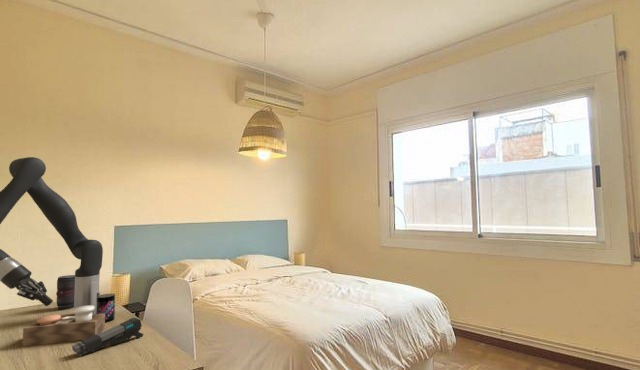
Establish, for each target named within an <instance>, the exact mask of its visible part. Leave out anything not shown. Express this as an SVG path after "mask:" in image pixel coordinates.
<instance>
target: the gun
mask: <svg viewBox="0 0 640 370" xmlns="http://www.w3.org/2000/svg"><path fill="white" fill-rule="evenodd" d="M141 329H142V321H141V319H139V318H137V317H132V318H129V319H127V320H125V321H122V322H120V323H119V324H118V325H116V326H113V327H111V328H108V329H106V330H103V331H102V332H101V333H99V334H96V335H94V336H91V337H89V338H87V339H85V340H80V342H78V343H75V344H73V345H71V347H72V348H71V349H72V351H73V352H74V353H76V355H77V356H78V357H83V356H84V355H86V354H88V353H94V352H96V351H98V350H101V349H102V348H103V347H106V346H107V345H113V344H115V345H118V344H119V343H122V342H123V341H126V342H127V341H129V340H130V339H131V338H132V337H135V338H138V339H141V338H140V337H142V338H143V336H144V333H142V332H140V330H141Z"/></svg>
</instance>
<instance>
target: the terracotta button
mask: <svg viewBox="0 0 640 370" xmlns="http://www.w3.org/2000/svg"><path fill="white" fill-rule="evenodd" d="M61 317H62V316H61V315H60V314H50V315H45V316H44V315H43V316H40V317H38V318H37V320H38V324H40V325H48V324H55V323H57V322H58V321H59V320H60V319H61Z"/></svg>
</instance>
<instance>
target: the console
mask: <svg viewBox="0 0 640 370" xmlns="http://www.w3.org/2000/svg"><path fill="white" fill-rule="evenodd" d="M105 329H106V323H105V314H94V315H92V319H91V320H90V321H80V322H75V316H74V315H70V316H61V319H60V320H59V321H58V322H57V323H55V324H48V325H40V324H38V319H37V320H36V321H34V322H31V323H30V324H29V325H27V326H25V327H23V328H22V330H23V331H22V347H29V346H38V345H47V344H53V343H54V344H57V343H64V342H73V341H76V342H77V341H82V340H85V339H87V338H89V337H91V336H94V335H96V334H99V333H102V332H104V331H105Z"/></svg>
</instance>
